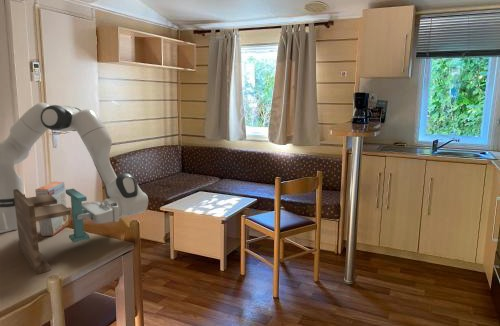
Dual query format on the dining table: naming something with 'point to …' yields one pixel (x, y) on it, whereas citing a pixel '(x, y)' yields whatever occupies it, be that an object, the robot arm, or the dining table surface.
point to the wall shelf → (34, 225)
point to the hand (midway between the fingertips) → (75, 215)
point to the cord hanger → (76, 209)
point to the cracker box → (58, 192)
